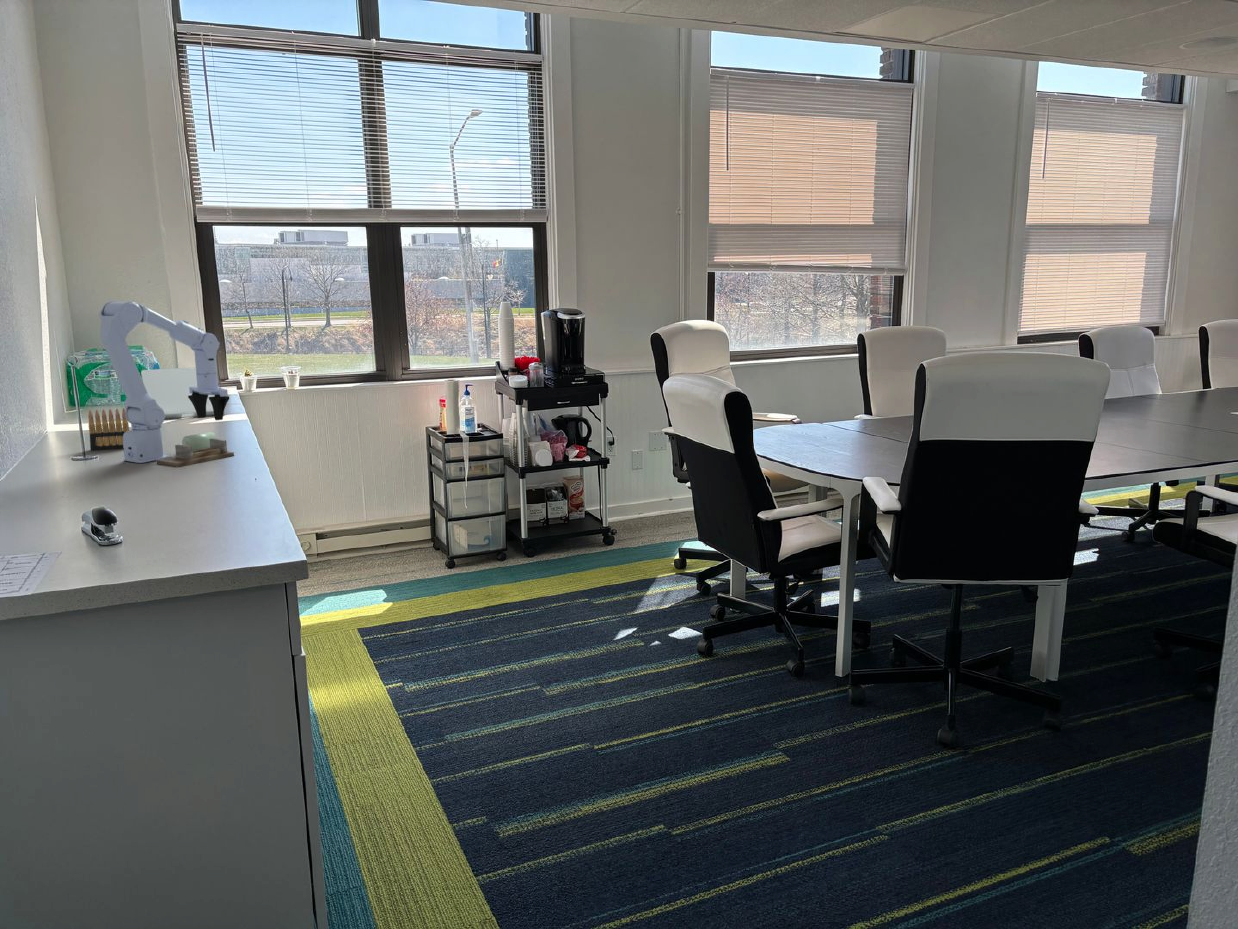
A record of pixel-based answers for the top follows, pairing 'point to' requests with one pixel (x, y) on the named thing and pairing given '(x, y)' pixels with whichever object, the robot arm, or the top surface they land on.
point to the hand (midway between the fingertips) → (210, 418)
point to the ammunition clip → (107, 431)
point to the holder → (197, 454)
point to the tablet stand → (174, 391)
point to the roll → (199, 440)
